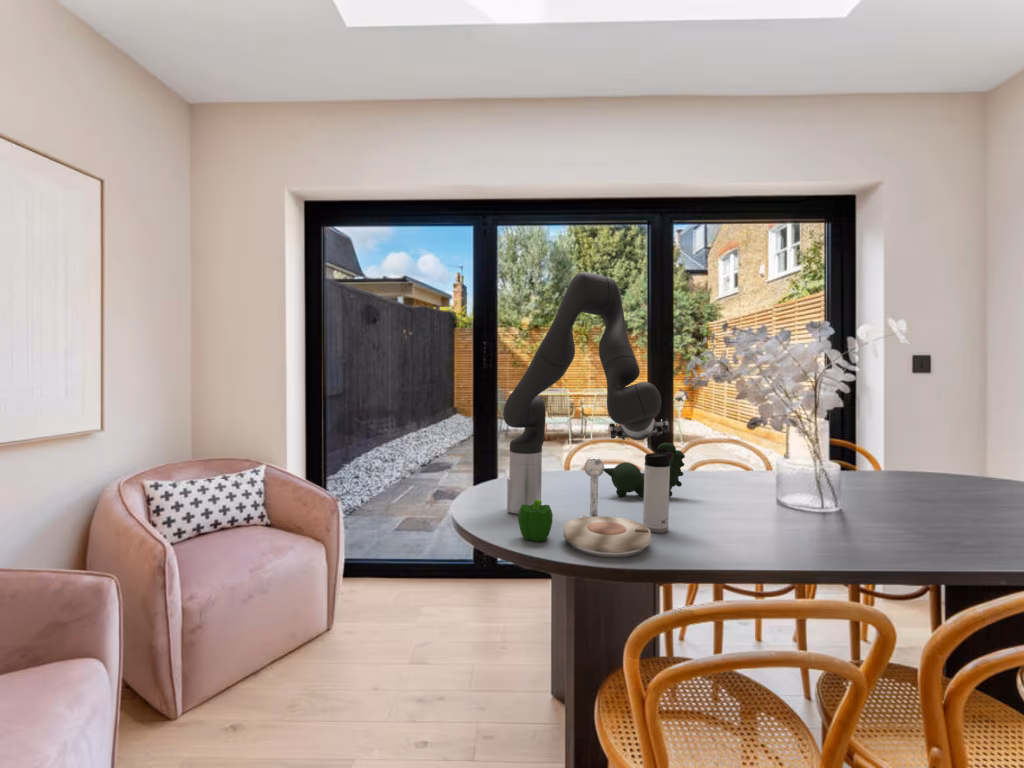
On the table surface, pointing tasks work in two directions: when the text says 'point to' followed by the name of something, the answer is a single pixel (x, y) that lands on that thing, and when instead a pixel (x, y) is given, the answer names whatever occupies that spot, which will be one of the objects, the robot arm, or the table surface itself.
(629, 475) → the toy figurine
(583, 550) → the turntable base
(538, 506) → the bell pepper
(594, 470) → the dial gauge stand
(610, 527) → the turntable platter
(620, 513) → the table surface
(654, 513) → the travel mug
